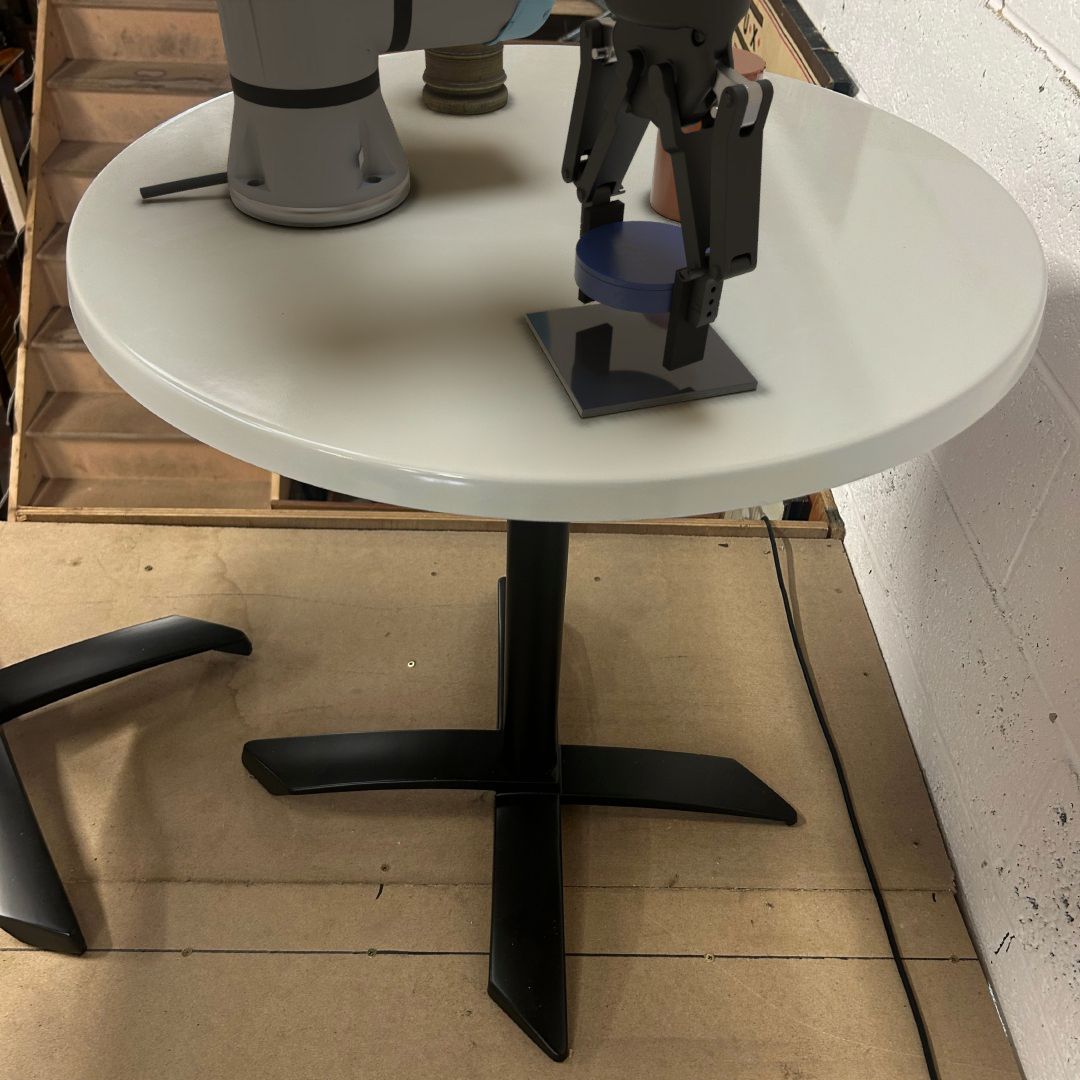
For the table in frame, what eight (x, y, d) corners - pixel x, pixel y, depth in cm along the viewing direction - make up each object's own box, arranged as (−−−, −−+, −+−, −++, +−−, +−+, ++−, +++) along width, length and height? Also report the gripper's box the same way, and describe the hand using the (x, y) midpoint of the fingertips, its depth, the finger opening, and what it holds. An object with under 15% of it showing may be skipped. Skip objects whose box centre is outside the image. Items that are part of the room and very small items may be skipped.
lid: (739, 275, 59) (744, 247, 57) (666, 329, 53) (670, 299, 52) (624, 236, 62) (627, 209, 61) (546, 282, 57) (547, 254, 56)
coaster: (581, 418, 56) (582, 410, 56) (525, 320, 64) (525, 313, 64) (756, 389, 59) (758, 381, 59) (681, 299, 67) (682, 291, 67)
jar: (661, 226, 76) (679, 76, 68) (641, 186, 82) (655, 44, 74) (753, 223, 77) (782, 75, 69) (727, 184, 83) (751, 43, 75)
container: (420, 114, 93) (407, -99, 81) (425, 85, 100) (414, -116, 87) (508, 116, 93) (509, -96, 81) (507, 87, 100) (508, -113, 88)
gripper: (907, -36, 40) (793, 393, 56) (619, -119, 53) (592, 249, 68) (780, -17, 37) (697, 431, 53) (507, -110, 50) (506, 273, 65)
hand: (638, 328), depth 61 cm, fingers closed on lid, 9 cm apart
